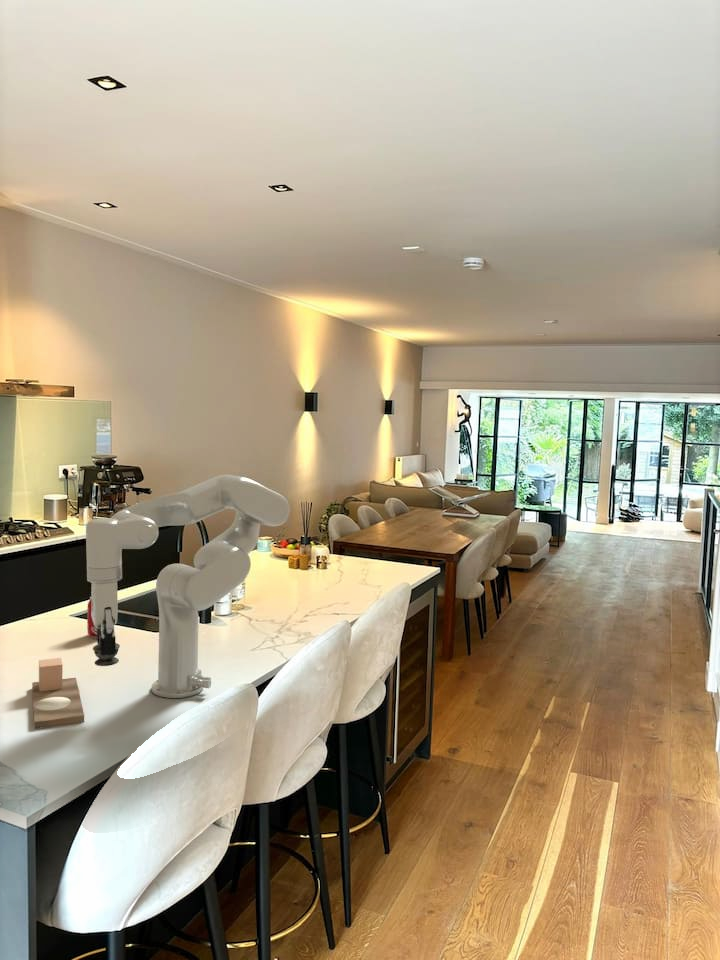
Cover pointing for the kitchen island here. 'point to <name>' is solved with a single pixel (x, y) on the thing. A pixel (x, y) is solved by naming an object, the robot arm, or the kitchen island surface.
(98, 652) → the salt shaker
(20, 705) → the kitchen island surface
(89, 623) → the soda can
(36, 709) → the walnut board
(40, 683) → the cover block
